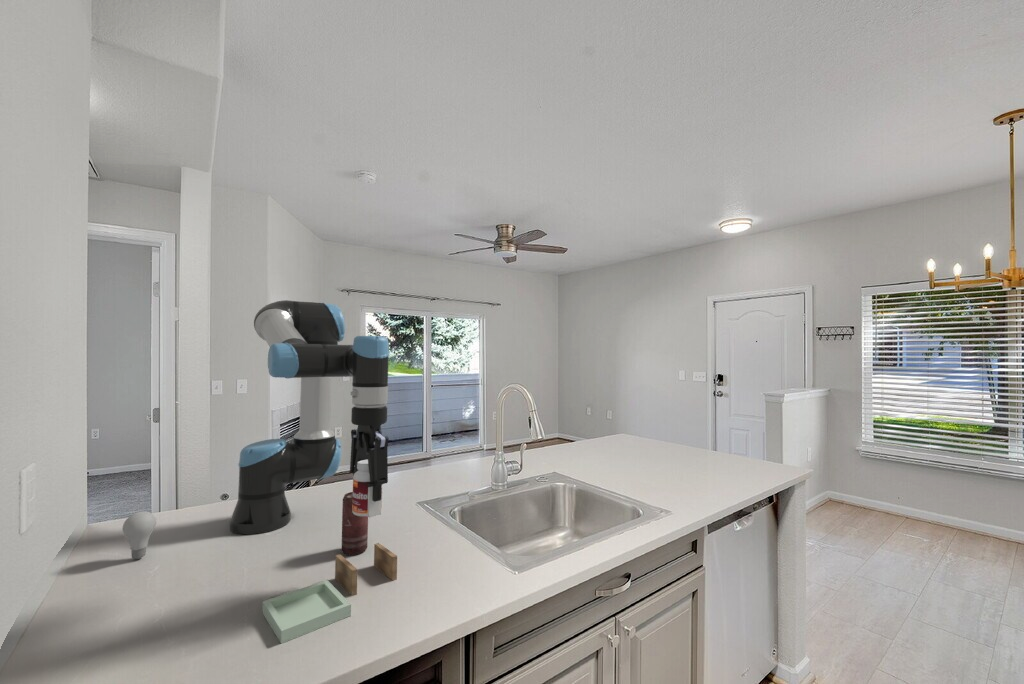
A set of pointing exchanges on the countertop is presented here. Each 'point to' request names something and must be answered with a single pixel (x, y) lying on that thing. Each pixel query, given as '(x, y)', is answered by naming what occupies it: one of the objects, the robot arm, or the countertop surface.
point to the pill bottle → (361, 489)
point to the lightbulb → (139, 532)
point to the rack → (348, 572)
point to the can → (353, 529)
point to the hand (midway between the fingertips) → (367, 510)
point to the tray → (305, 610)
